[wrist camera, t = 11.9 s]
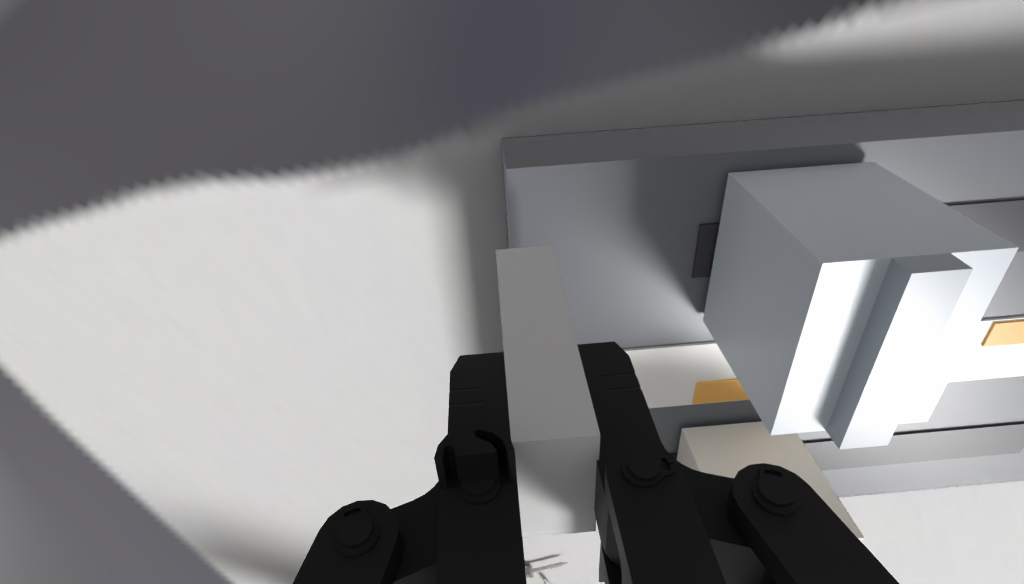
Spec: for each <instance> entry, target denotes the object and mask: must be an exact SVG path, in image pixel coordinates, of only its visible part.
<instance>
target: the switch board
mask: <svg viewBox="0 0 1024 584" xmlns="http://www.w3.org/2000/svg"><path fill="white" fill-rule="evenodd" d="M502 154H503V170H504V185H505V201H506V216H507V232H508V247H509V249H511V248H524V247H536V246H549V245H552V249H553V253H554V256H555V260H556V264H557V268H558V272H559V276H560V280H561V284H562V288H563V291H564V295H565V299H566V303H567V307H568V311H569V315H570V319H571V323H572V326H573V330H574V334H575V338H576V342H577V345H578V344H590V343H602V342H614V341H615V342H616V343H617V344H618V345H619V346H620V347H621V348H622V349H623V350H624V351H625V352H626V353H627V354H628V355H629V357H630V359H631V362H632V365H633V367H634V370H635V375H636V376H637V378H638V381H639V384H640V388H641V390H642V392H643V394H644V397H645V400H646V402H647V405H648V408H649V411H650V413H651V416H652V419H653V421H654V424H655V427H656V429H657V432H658V435H659V438H660V440H661V442H662V444H663V446H664V448H665V449H666V450H667V451H668V452H669V453H670V454H672V455H673V456H674V457H675V459H676V460H677V454H678V448H679V442H680V437H681V431H682V428H692V427H704V426H715V425H727V424H738V423H749V422H761V421H762V420H761V418H760V417H759V415H758V413H757V412H756V410H755V408H754V406H753V405H752V403H751V401H750V400H749V398H748V396H747V395H746V393H745V391H744V390H743V388H742V386H741V384H740V383H739V381H738V379H737V378H736V376H735V374H734V373H733V371H732V369H731V367H730V366H729V364H728V362H727V361H726V359H725V357H724V356H723V354H722V352H721V350H720V349H719V347H718V345H717V344H716V342H715V340H714V339H713V337H712V335H711V334H710V332H709V330H708V328H707V327H706V325H705V323H704V322H703V317H704V311H705V305H706V299H707V294H708V288H709V282H710V276H711V271H712V265H713V259H714V253H715V248H716V242H717V236H718V230H719V225H720V219H721V213H722V208H723V202H724V196H725V190H726V185H727V179H728V173H732V172H745V171H759V170H772V169H785V168H798V167H811V166H824V165H838V164H851V163H864V162H875V163H876V164H878V165H880V166H881V167H883V168H885V169H886V170H888V171H890V172H891V173H893V174H895V175H897V176H898V177H900V178H902V179H903V180H905V181H907V182H908V183H910V184H912V185H914V186H915V187H917V188H919V189H920V190H922V191H924V192H925V193H927V194H929V195H930V196H932V197H934V198H936V199H937V200H939V201H941V202H942V203H944V204H946V205H947V206H949V207H951V208H952V209H954V210H956V211H958V212H959V213H961V214H963V215H964V216H966V217H968V218H969V219H971V220H973V221H974V222H976V223H978V224H980V225H981V226H983V227H985V228H986V229H988V230H990V231H991V232H993V233H995V234H997V235H998V236H1000V237H1002V238H1003V239H1005V240H1007V241H1008V242H1010V243H1012V244H1013V245H1015V246H1017V247H1019V248H1018V250H1017V252H1016V254H1015V256H1014V258H1013V259H1012V261H1011V263H1010V265H1009V267H1008V269H1007V271H1006V273H1005V275H1004V277H1003V279H1002V280H1001V282H1000V284H999V286H998V288H997V290H996V292H995V294H994V296H993V298H992V300H991V301H990V303H989V305H988V307H987V309H986V311H985V313H984V315H983V317H982V319H981V321H980V322H979V324H978V326H977V328H976V330H975V332H974V334H973V336H972V338H971V340H970V342H969V343H968V345H967V347H966V349H965V351H964V353H963V355H962V357H961V359H960V361H959V363H958V364H957V366H956V368H955V370H954V372H953V374H952V376H951V378H950V380H949V382H948V384H947V385H946V387H945V389H944V391H943V393H942V395H941V397H940V399H939V401H938V403H937V405H936V406H935V408H934V410H933V412H932V414H931V416H930V418H929V420H928V422H918V423H906V424H898V426H897V428H896V430H895V432H894V434H893V436H892V438H891V440H890V442H889V444H888V445H885V446H874V447H863V448H851V449H840V450H839V449H838V447H837V446H836V444H835V443H834V442H833V440H832V439H831V437H830V436H829V434H828V433H827V432H826V431H816V432H804V433H797V434H798V436H799V437H800V439H801V440H802V442H803V443H804V445H805V447H806V448H807V450H808V451H809V453H810V454H811V456H812V457H813V459H814V460H815V462H816V464H817V465H818V467H819V468H820V470H821V471H822V473H823V474H824V476H825V478H826V479H827V481H828V482H829V484H830V485H831V487H832V488H833V490H834V492H835V493H836V495H837V496H838V498H839V497H850V496H861V495H872V494H883V493H894V492H904V491H915V490H926V489H937V488H948V487H959V486H970V485H981V484H992V483H1003V482H1014V481H1024V100H1019V101H1005V102H992V103H978V104H965V105H951V106H937V107H924V108H910V109H897V110H883V111H870V112H856V113H842V114H829V115H815V116H802V117H788V118H775V119H761V120H747V121H734V122H720V123H707V124H693V125H679V126H666V127H652V128H639V129H625V130H612V131H598V132H584V133H571V134H557V135H544V136H530V137H517V138H503V139H502Z"/></svg>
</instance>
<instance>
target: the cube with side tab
mask: <svg viewBox="0 0 1024 584" xmlns="http://www.w3.org/2000/svg"><path fill="white" fill-rule="evenodd" d="M1018 248H1019V247H1017V246H1015V245H1013V244H1012V243H1010V242H1008V241H1007V240H1005V239H1003V238H1002V237H1000V236H998V235H997V234H995V233H993V232H991V231H990V230H988V229H986V228H985V227H983V226H981V225H980V224H978V223H976V222H974V221H973V220H971V219H969V218H968V217H966V216H964V215H963V214H961V213H959V212H958V211H956V210H954V209H952V208H951V207H949V206H947V205H946V204H944V203H942V202H941V201H939V200H937V199H936V198H934V197H932V196H930V195H929V194H927V193H925V192H924V191H922V190H920V189H919V188H917V187H915V186H914V185H912V184H910V183H908V182H907V181H905V180H903V179H902V178H900V177H898V176H897V175H895V174H893V173H891V172H890V171H888V170H886V169H885V168H883V167H881V166H880V165H878V164H876V163H875V162H864V163H851V164H838V165H824V166H811V167H798V168H785V169H772V170H759V171H745V172H732V173H728V179H727V185H726V190H725V196H724V202H723V208H722V213H721V219H720V225H719V230H718V236H717V242H716V248H715V253H714V259H713V265H712V271H711V276H710V282H709V288H708V294H707V299H706V305H705V311H704V317H703V322H704V323H705V325H706V327H707V328H708V330H709V332H710V334H711V335H712V337H713V339H714V340H715V342H716V344H717V345H718V347H719V349H720V350H721V352H722V354H723V356H724V357H725V359H726V361H727V362H728V364H729V366H730V367H731V369H732V371H733V373H734V374H735V376H736V378H737V379H738V381H739V383H740V384H741V386H742V388H743V390H744V391H745V393H746V395H747V396H748V398H749V400H750V401H751V403H752V405H753V406H754V408H755V410H756V412H757V413H758V415H759V417H760V418H761V420H762V422H763V423H764V425H765V427H766V429H767V430H768V432H769V434H770V435H782V434H793V433H804V432H816V431H826V432H827V433H828V434H829V436H830V437H831V439H832V440H833V442H834V443H835V444H836V446H837V447H838V449H839V450H840V449H851V448H863V447H874V446H885V445H888V444H889V442H890V440H891V438H892V436H893V434H894V432H895V430H896V428H897V426H898V424H906V423H918V422H928V420H929V418H930V416H931V414H932V412H933V410H934V408H935V406H936V405H937V403H938V401H939V399H940V397H941V395H942V393H943V391H944V389H945V387H946V385H947V384H948V382H949V380H950V378H951V376H952V374H953V372H954V370H955V368H956V366H957V364H958V363H959V361H960V359H961V357H962V355H963V353H964V351H965V349H966V347H967V345H968V343H969V342H970V340H971V338H972V336H973V334H974V332H975V330H976V328H977V326H978V324H979V322H980V321H981V319H982V317H983V315H984V313H985V311H986V309H987V307H988V305H989V303H990V301H991V300H992V298H993V296H994V294H995V292H996V290H997V288H998V286H999V284H1000V282H1001V280H1002V279H1003V277H1004V275H1005V273H1006V271H1007V269H1008V267H1009V265H1010V263H1011V261H1012V259H1013V258H1014V256H1015V254H1016V252H1017V250H1018Z"/></svg>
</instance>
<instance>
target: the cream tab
mask: <svg viewBox="0 0 1024 584" xmlns="http://www.w3.org/2000/svg"><path fill="white" fill-rule="evenodd" d="M677 461H678V462H680V463H681V464H683V465H685V466H687V467H689V468H691V469H693V470H697V471H700V472H704V473H709V474H714V475H719V476H724V477H730V478H735V476H736V474H737V473H738V471H739V470H741V469H743V468H745V467H746V466H748V465H752V464H760V463H766V464H771V465H777V466H781V467H783V468H785V469H787V470H789V471H791V472H794V473H796V474H797V475H798V476H799V477H800V478H802V479H803V480H804V481H805V482H806V483H808V484H809V485H810V486H811V487H812V488H813V490H814V491H815V492H816V493H817V494H818V495H819V496H820V497H821V498H822V499H823V501H824V502H825V503H826V504H827V505H828V506H829V507H830V508H831V509H832V510H833V511H834V513H835V514H836V515H837V516H838V517H839V518H840V519H841V520H842V521H843V522H844V524H845V525H846V526H847V527H848V528H849V529H850V530H851V531H852V532H853V533H854V535H855V536H856V537H857V538H858V539H859V540H860V541H861V542H862V541H863V539H864V537H863V535H862V533H861V532H860V530H859V529H858V527H857V526H856V524H855V523H854V521H853V520H852V518H851V516H850V515H849V513H848V512H847V510H846V509H845V507H844V506H843V504H842V502H841V501H840V499H839V498H838V496H837V495H836V493H835V492H834V490H833V488H832V487H831V485H830V484H829V482H828V481H827V479H826V478H825V476H824V474H823V473H822V471H821V470H820V468H819V467H818V465H817V464H816V462H815V460H814V459H813V457H812V456H811V454H810V453H809V451H808V450H807V448H806V447H805V445H804V443H803V442H802V440H801V439H800V437H799V436H798V434H797V433H793V434H782V435H770V434H769V432H768V430H767V429H766V427H765V425H764V423H763V422H762V421H761V422H749V423H738V424H727V425H715V426H704V427H692V428H682V431H681V437H680V442H679V448H678V454H677Z"/></svg>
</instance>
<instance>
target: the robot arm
mask: <svg viewBox="0 0 1024 584" xmlns="http://www.w3.org/2000/svg"><path fill="white" fill-rule="evenodd" d="M496 263H497V275H498V288H499V300H500V312H501V325H502V337H503V349H504V352H499V353H487V354H475V355H463V356H460V357H459V358H458V360H457V362H456V363H455V365H454V367H453V368H452V370H451V372H450V393H449V416H448V435H447V436H446V437H445V438H444V439H443V440H442V442H441V443H440V444H439V445H438V447H437V451H436V454H435V457H434V459H435V464H436V469H437V474H438V479H439V481H438V483H437V484H436V485H435V486H434V487H433V488H432V489H431V490H430V491H428V492H427V493H426V494H425V495H423V496H421V497H419V498H417V499H415V500H413V501H411V502H408V503H405V504H403V505H400V506H398V507H395V508H393V509H390V508H389V507H388V506H387V505H386V504H383V503H380V502H377V501H374V500H366V501H356V502H354V503H351V504H348V505H346V506H343V507H342V508H340V509H339V510H338V511H336V512H335V513H334V514H332V515H331V516H330V517H329V518H328V519H327V521H326V522H325V523H324V525H323V526H322V527H321V529H320V530H319V532H318V534H317V536H316V538H315V540H314V542H313V544H312V546H311V548H310V550H309V552H308V554H307V556H306V558H305V560H304V562H303V564H302V566H301V568H300V570H299V572H298V574H297V576H296V578H295V580H294V582H293V584H526V574H525V563H524V552H523V541H522V538H524V537H535V536H545V535H556V534H567V533H578V532H589V531H595V530H596V520H597V525H598V530H599V535H600V539H601V547H600V563H599V582H605V584H899V583H898V582H897V581H896V580H895V578H894V577H893V576H892V575H891V574H890V573H889V572H888V571H887V570H886V569H885V567H884V566H883V565H882V564H881V563H880V562H879V561H878V560H877V559H876V558H875V556H874V555H873V554H872V553H871V552H870V551H869V550H868V549H867V548H866V547H865V546H864V544H863V543H862V542H861V541H860V540H859V539H858V538H857V537H856V536H855V535H854V533H853V532H852V531H851V530H850V529H849V528H848V527H847V526H846V525H845V524H844V522H843V521H842V520H841V519H840V518H839V517H838V516H837V515H836V514H835V513H834V511H833V510H832V509H831V508H830V507H829V506H828V505H827V504H826V503H825V502H824V501H823V499H822V498H821V497H820V496H819V495H818V494H817V493H816V492H815V491H814V490H813V488H812V487H811V486H810V485H809V484H808V483H806V482H805V481H804V480H803V479H802V478H800V477H799V476H798V475H797V474H796V473H794V472H791V471H789V470H787V469H785V468H783V467H781V466H777V465H771V464H766V463H760V464H752V465H748V466H746V467H745V468H743V469H741V470H739V471H738V473H737V474H736V476H735V478H730V477H724V476H719V475H714V474H709V473H704V472H700V471H697V470H693V469H691V468H689V467H687V466H685V465H683V464H681V463H680V462H678V461H677V460H676V459H675V457H674V456H673V455H672V454H670V453H669V452H668V451H667V450H666V449H665V448H664V446H663V444H662V442H661V440H660V438H659V435H658V432H657V429H656V427H655V424H654V421H653V419H652V416H651V413H650V411H649V408H648V405H647V402H646V400H645V397H644V394H643V392H642V390H641V388H640V384H639V381H638V378H637V376H636V375H635V370H634V367H633V365H632V362H631V359H630V357H629V355H628V354H627V353H626V352H625V351H624V350H623V349H622V348H621V347H620V346H619V345H618V344H617V343H616V342H615V341H614V342H602V343H590V344H578V345H577V342H576V338H575V334H574V330H573V326H572V323H571V319H570V315H569V311H568V307H567V303H566V299H565V295H564V291H563V288H562V284H561V280H560V276H559V272H558V268H557V264H556V260H555V256H554V253H553V249H552V245H549V246H536V247H524V248H511V249H498V250H496Z"/></svg>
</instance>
